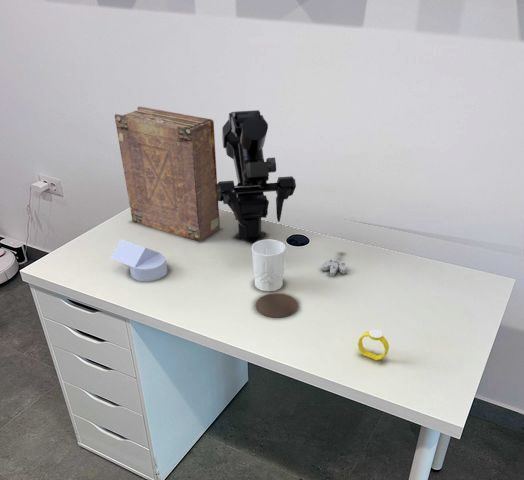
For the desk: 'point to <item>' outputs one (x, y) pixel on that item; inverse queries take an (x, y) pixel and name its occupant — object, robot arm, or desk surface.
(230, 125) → the robot arm
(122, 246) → the wedge on round base
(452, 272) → the desk surface
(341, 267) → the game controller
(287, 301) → the coaster
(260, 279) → the white cup
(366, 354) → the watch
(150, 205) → the book
